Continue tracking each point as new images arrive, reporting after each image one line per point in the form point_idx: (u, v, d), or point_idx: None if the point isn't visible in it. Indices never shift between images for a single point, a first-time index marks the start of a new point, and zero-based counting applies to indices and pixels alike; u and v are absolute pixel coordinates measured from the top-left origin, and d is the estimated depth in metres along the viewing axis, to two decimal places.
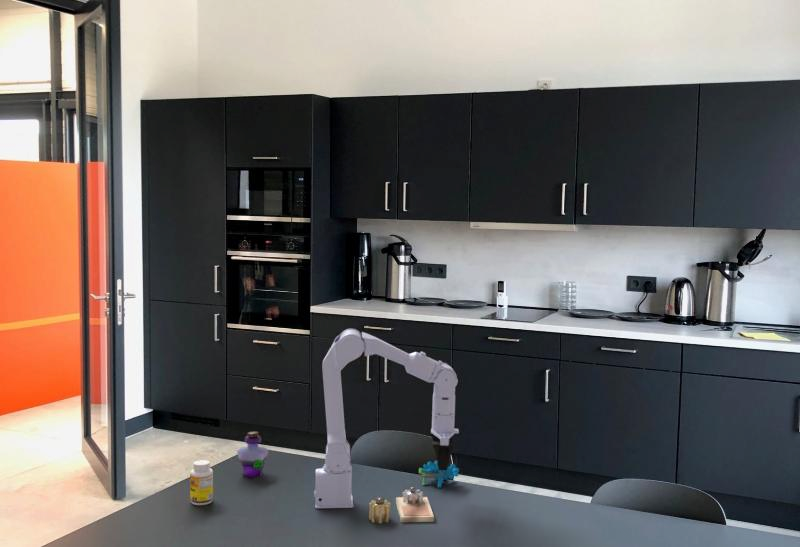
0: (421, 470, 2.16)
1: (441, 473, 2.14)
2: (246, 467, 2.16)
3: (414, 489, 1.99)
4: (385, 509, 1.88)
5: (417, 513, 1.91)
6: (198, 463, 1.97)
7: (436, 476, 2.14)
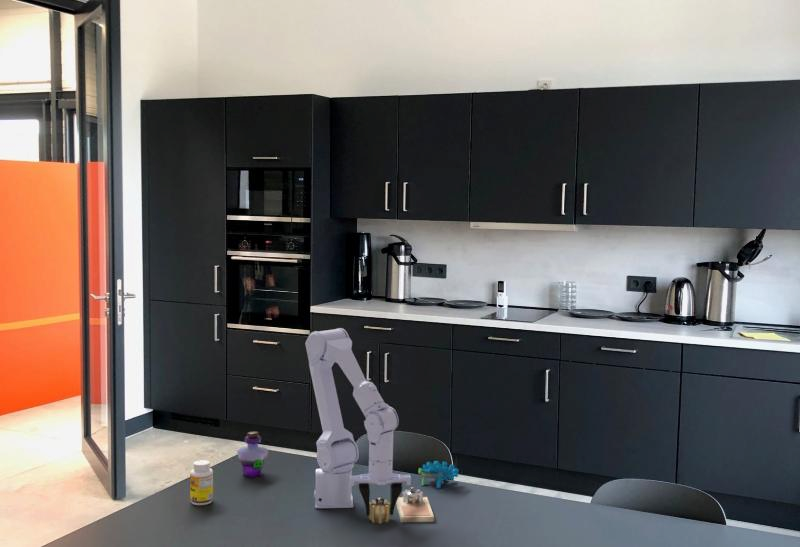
0: (421, 470, 2.16)
1: (440, 473, 2.14)
2: (246, 467, 2.16)
3: (414, 489, 1.99)
4: (385, 509, 1.88)
5: (417, 513, 1.91)
6: (199, 463, 1.97)
7: (436, 476, 2.14)
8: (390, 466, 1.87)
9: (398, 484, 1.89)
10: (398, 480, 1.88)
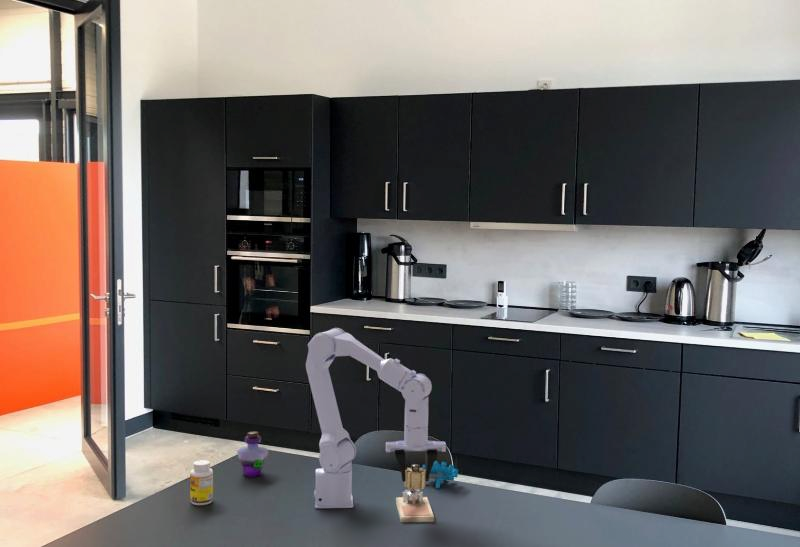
0: None
1: (440, 474, 2.13)
2: (246, 467, 2.16)
3: None
4: (421, 476, 1.90)
5: (417, 513, 1.91)
6: (199, 463, 1.97)
7: (435, 476, 2.14)
8: (426, 432, 1.89)
9: (433, 450, 1.91)
10: (433, 446, 1.90)
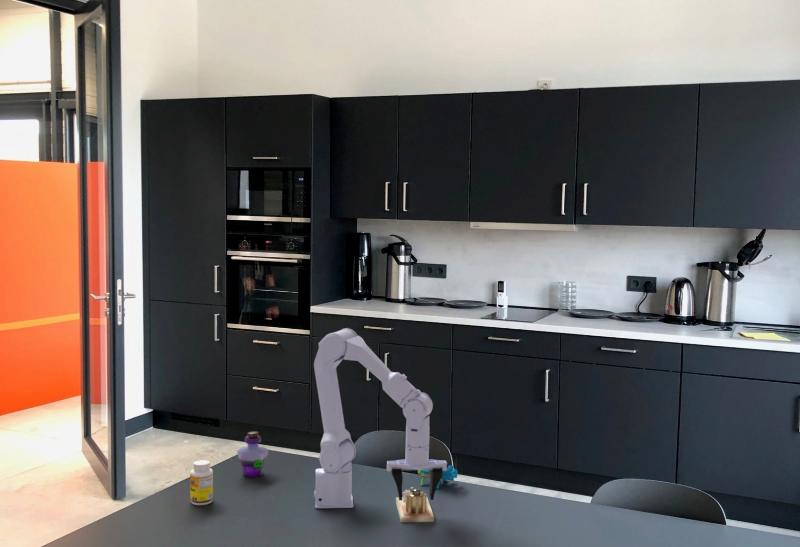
0: (420, 470, 2.16)
1: None
2: (246, 467, 2.16)
3: None
4: (422, 500, 1.91)
5: None
6: (198, 463, 1.97)
7: None
8: (427, 452, 1.90)
9: (438, 469, 1.92)
10: (434, 465, 1.91)
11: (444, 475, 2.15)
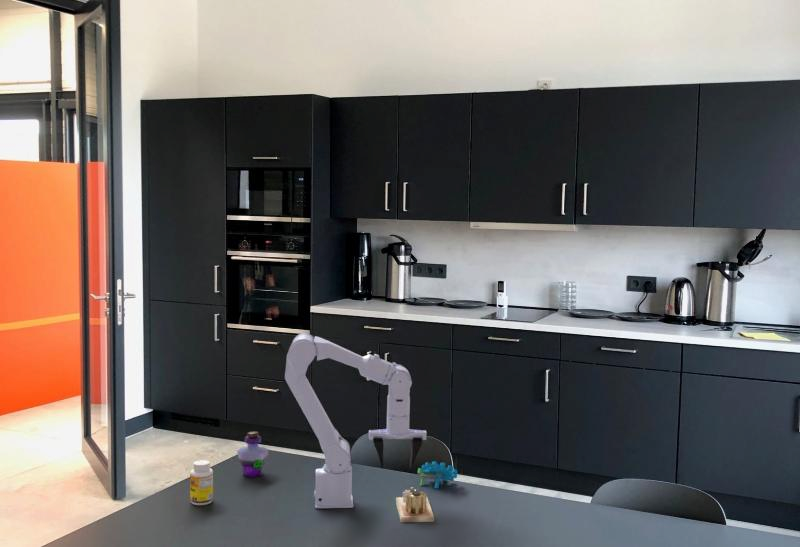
0: (420, 470, 2.16)
1: (439, 474, 2.13)
2: (246, 467, 2.16)
3: None
4: (422, 500, 1.91)
5: None
6: (198, 463, 1.97)
7: (434, 477, 2.13)
8: (407, 421, 1.98)
9: (418, 439, 1.99)
10: (414, 435, 1.98)
11: (444, 475, 2.15)
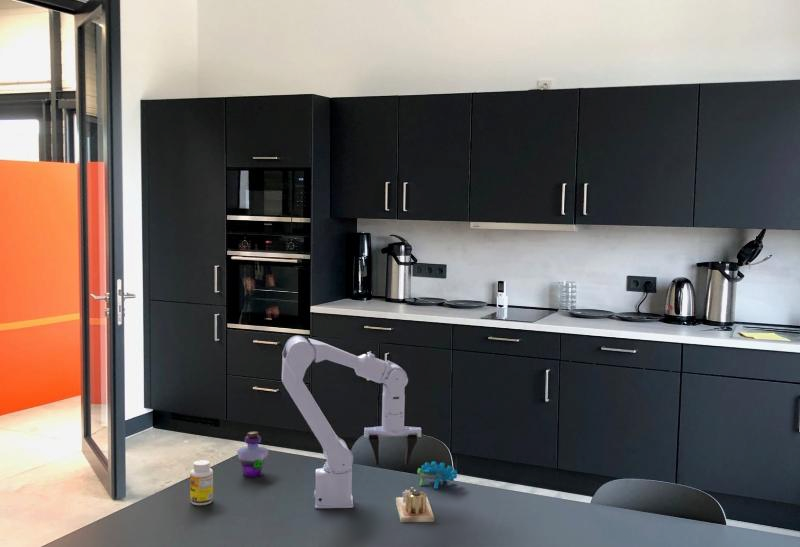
0: (420, 470, 2.16)
1: (439, 474, 2.13)
2: (246, 467, 2.16)
3: None
4: (422, 500, 1.91)
5: None
6: (198, 463, 1.97)
7: (434, 477, 2.13)
8: (402, 418, 2.00)
9: (413, 435, 2.02)
10: (409, 432, 2.01)
11: (444, 475, 2.15)
